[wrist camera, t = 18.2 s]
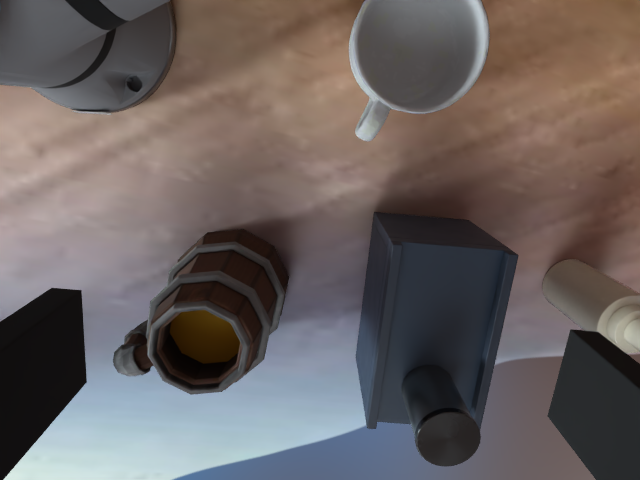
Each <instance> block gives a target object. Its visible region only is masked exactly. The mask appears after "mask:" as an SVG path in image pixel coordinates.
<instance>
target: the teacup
mask: <svg viewBox="0 0 640 480" xmlns="http://www.w3.org/2000/svg"><path fill="white" fill-rule="evenodd" d="M489 37H490V33H489V23H488V18H487V14H486V11H485V8H484V6H483V4H482V2H481V0H365V1H364V2H363V4H362V6H361V9H360V11H359V13H358V16H357V18H356V20H355V22H354V25H353V28H352V31H351V35H350V41H349V59H350V64H351V68H352V71H353V75H354V77H355V79H356V81H357V83H358V84H359V86H360V87H361V89H362V90H363V91H364V92H365V93H366V94H367V95H368V96H369V97H370V99H369V102H368V104H367V106H366V108H365V110H364V112H363V114H362V116H361V118H360V120H359V123H358V125H357V127H356V130H355V133H356V135H357V136H358V137H359V138H360V139H362V140H364V141H371V140H372V139H373V138H374V137H375V136H376V135H377V133H378V132H379V130H380V129H381V127H382V126H383V124H384V122H385V120H386V118H387V116H388V114H389V111H390V109H394V110H399V111H403V112H407V113H414V114H427V113H431V112H436V111H439V110H442V109H444V108H446V107H448V106H450V105H452V104H453V103H455V102H456V101H458V100H459V99H460V98H461V97H462V96H463V95H465V94H466V93H467V92H468V91H469V90H470V88H471V87H472V86H473V85H474V83H475V82H476V81H477V79H478V77H479V75H480V74H481V72H482V69H483V67H484V64H485V61H486V58H487V54H488V47H489Z"/></svg>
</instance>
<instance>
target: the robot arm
mask: <svg viewBox="0 0 640 480" xmlns="http://www.w3.org/2000/svg"><path fill="white" fill-rule="evenodd" d="M175 44H176V26H175V19H174V14H173V9H172V6H171V3H170V0H0V85H10V86H22V87H31V88H32V89H34V90H35V91H37V92H38V93H40V94H41V95H43V96H44V97H46V98H47V99H49V100H51V101H53V102H55V103H57V104H59V105H62V106H64V107H67V108H70V109H73V110H77V111H73V112H77V113H89V114H109V113H113V112H119V111H123V110H126V109H129V108H131V107H134V106H136V105H138V104H140V103H141V102H143V101H144V100H146V99H147V98H148V97H149V96H150V95H152V94H153V93H154V92H155V90H156V89H157V88H158V87H159V86H160V84H161V83H162V82H163V80H164V78H165V77H166V75H167V73H168V71H169V68H170V66H171V63H172V60H173V56H174V51H175ZM109 115H112V114H109ZM86 382H87V381H86V363H85V346H84V328H83V311H82V294H81V290H70V289H58V288H51V289H49V290H48V291H46V292H45V293H43V294H42V295H40V296H39V297H37V298H36V299H34V300H33V301H31V302H30V303H28V304H27V305H25V306H24V307H22V308H21V309H19V310H18V311H16V312H15V313H13V314H12V315H10V316H9V317H7V318H6V319H4V320H2V321H1V322H0V480H3V479H4V478H5V477H6V476H7V475H8V473H9V472H10V471H11V470H12V469H13V468H14V466H15V465H16V464H17V463H18V462H19V461H20V459H21V458H22V457H23V456H24V455H25V454H26V452H27V451H28V450H29V449H30V448H31V447H32V445H33V444H34V443H35V442H36V441H37V440H38V438H39V437H40V436H41V435H42V434H43V433H44V431H45V430H46V429H47V428H48V427H49V425H50V424H51V423H52V422H53V421H54V420H55V418H56V417H57V416H58V415H59V414H60V413H61V411H62V410H63V409H64V408H65V407H66V406H67V404H68V403H69V402H70V401H71V400H72V399H73V397H74V396H75V395H76V394H77V393H78V392H79V390H80V389H81V388H82V387H83V386H84V385H85V383H86ZM548 417H549V418H550V420H551V421H552V423H553V424H554V425H555V426H556V428H557V429H558V430H559V432H560V433H561V434H562V436H563V437H564V438H565V440H566V441H567V442H568V443H569V445H570V446H571V447H572V449H573V450H574V451H575V453H576V454H577V455H578V457H579V458H580V459H581V461H582V462H583V463H584V465H585V466H586V467H587V468H588V470H589V471H590V472H591V474H592V475H593V476H594V478H595V479H596V480H640V364H639V363H638V362H636V361H635V360H634V359H632V358H631V357H630V356H629V355H627V354H626V353H625V352H624V351H622V350H621V349H620V348H618V347H617V346H616V345H615V344H613V343H612V342H611V341H609V340H608V339H607V338H606V337H604V336H603V335H602V334H600V333H599V332H595V331H583V330H570V334H569V337H568V341H567V345H566V349H565V352H564V356H563V360H562V364H561V368H560V371H559V375H558V379H557V383H556V387H555V390H554V394H553V398H552V402H551V405H550V409H549V413H548Z"/></svg>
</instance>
